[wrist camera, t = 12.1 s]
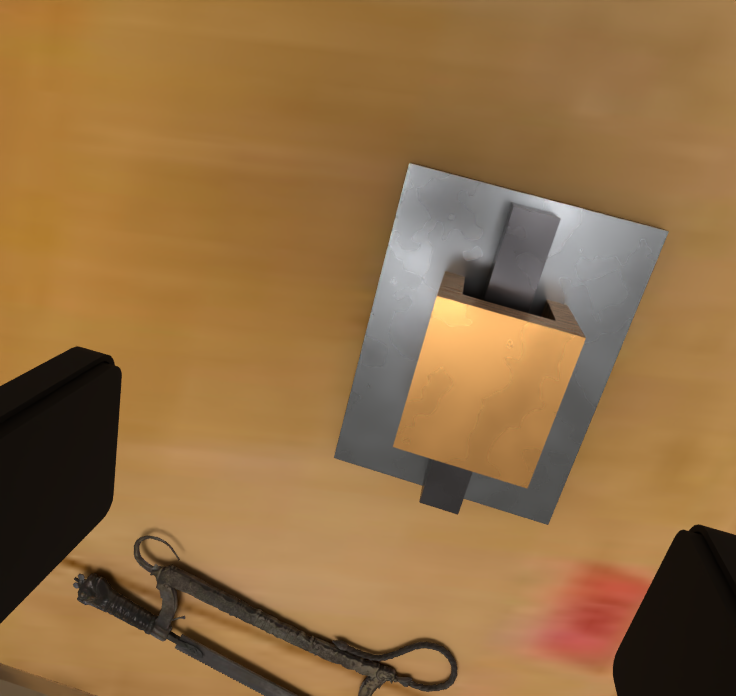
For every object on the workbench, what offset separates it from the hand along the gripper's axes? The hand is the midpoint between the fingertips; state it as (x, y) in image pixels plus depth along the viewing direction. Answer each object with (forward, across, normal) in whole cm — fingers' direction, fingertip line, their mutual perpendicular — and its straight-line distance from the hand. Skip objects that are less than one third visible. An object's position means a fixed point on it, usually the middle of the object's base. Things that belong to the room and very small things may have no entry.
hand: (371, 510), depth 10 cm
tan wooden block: (+20, -3, +4) cm, 21 cm away
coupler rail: (+22, -3, +4) cm, 22 cm away
